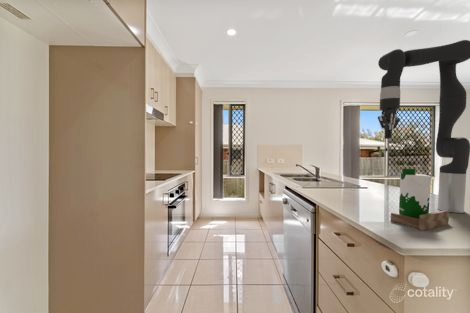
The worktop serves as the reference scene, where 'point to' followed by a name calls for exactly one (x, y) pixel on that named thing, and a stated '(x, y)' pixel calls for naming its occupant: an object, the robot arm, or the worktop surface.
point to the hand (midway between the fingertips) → (388, 138)
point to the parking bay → (423, 220)
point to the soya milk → (414, 193)
